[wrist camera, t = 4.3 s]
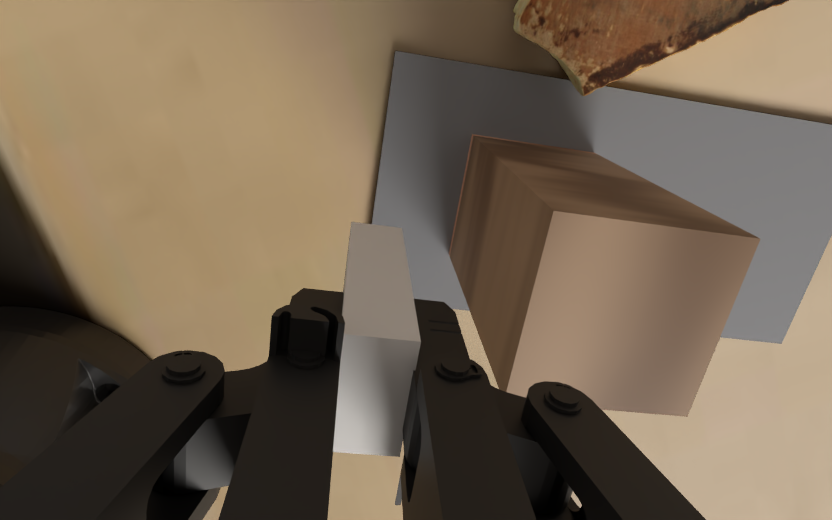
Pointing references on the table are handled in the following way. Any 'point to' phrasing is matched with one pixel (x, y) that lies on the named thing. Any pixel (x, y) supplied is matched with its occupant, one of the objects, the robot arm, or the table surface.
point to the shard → (624, 32)
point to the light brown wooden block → (592, 276)
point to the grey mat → (621, 144)
